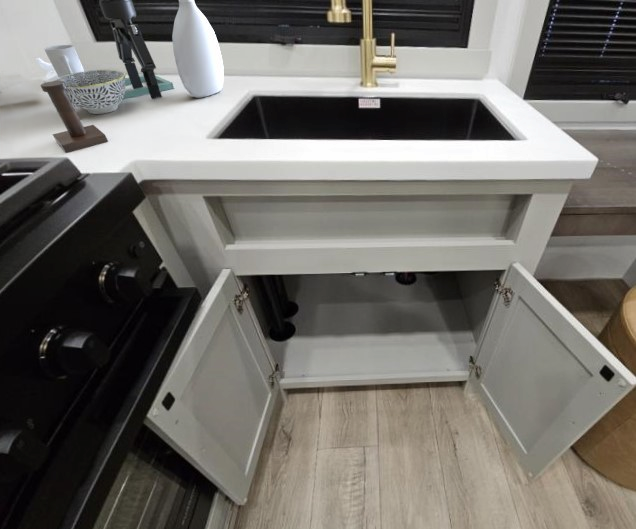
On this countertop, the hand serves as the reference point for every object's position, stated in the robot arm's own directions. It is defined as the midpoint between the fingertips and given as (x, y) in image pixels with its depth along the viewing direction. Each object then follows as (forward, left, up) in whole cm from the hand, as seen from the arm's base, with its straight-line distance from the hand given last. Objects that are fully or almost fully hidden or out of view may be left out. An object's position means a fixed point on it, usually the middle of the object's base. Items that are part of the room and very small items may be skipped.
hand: (147, 92), depth 94 cm
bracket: (-31, -15, 0) cm, 35 cm away
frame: (-7, 0, 0) cm, 7 cm away
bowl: (+7, -14, 0) cm, 16 cm away
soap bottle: (+13, +12, 0) cm, 17 cm away
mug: (-8, -15, 0) cm, 17 cm away
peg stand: (+26, -24, 0) cm, 35 cm away
